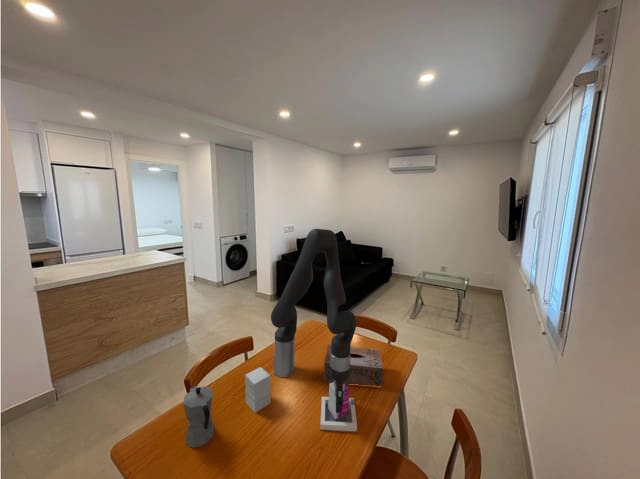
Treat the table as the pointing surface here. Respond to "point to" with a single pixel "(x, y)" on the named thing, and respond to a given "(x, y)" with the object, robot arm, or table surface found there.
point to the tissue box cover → (359, 366)
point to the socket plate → (341, 424)
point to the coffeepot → (198, 416)
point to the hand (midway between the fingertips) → (338, 403)
